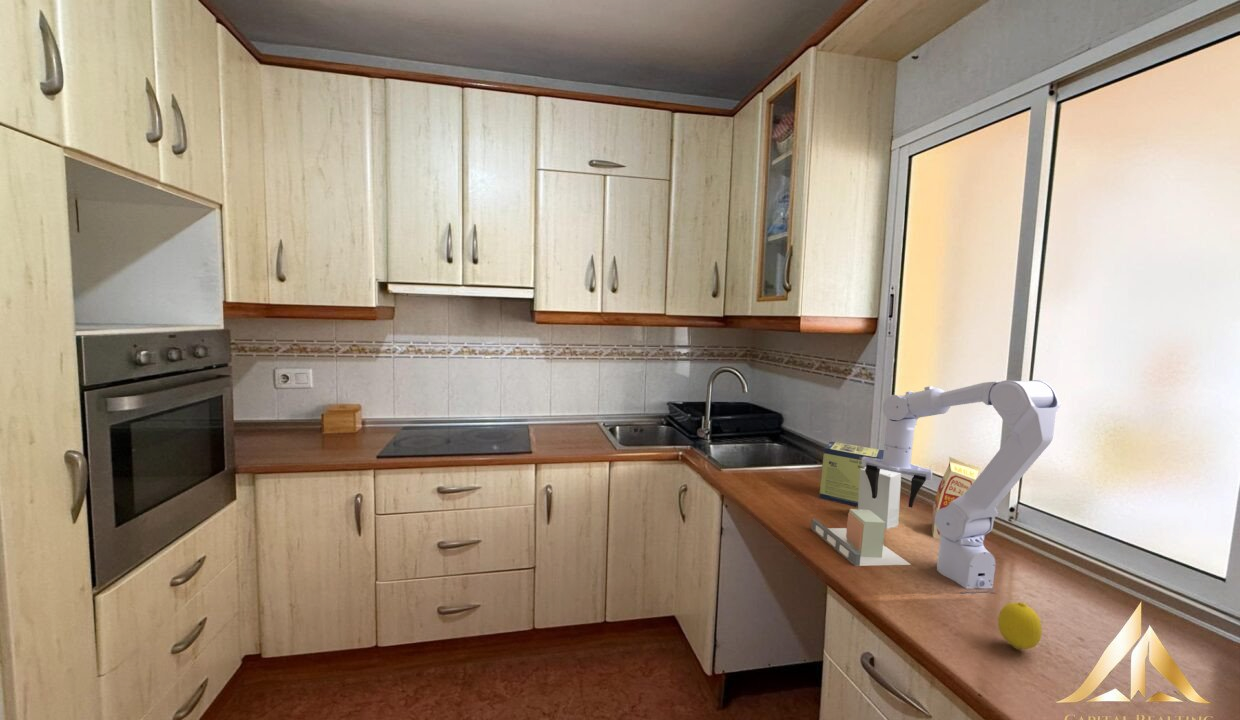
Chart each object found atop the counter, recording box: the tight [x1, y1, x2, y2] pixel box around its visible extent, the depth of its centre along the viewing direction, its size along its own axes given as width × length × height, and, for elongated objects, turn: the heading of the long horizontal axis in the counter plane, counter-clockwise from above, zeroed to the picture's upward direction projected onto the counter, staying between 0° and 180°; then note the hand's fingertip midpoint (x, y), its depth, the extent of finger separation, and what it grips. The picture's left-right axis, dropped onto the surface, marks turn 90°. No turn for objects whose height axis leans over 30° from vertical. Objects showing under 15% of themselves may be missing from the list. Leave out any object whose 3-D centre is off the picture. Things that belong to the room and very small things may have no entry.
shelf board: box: [810, 518, 912, 567], centre depth 114 cm, size 18×13×4 cm
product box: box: [846, 508, 886, 558], centre depth 111 cm, size 5×7×8 cm
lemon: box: [997, 601, 1043, 650], centre depth 81 cm, size 6×6×8 cm
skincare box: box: [857, 467, 902, 530], centre depth 128 cm, size 8×6×15 cm
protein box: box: [818, 441, 884, 508], centre depth 146 cm, size 10×16×16 cm
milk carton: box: [931, 456, 984, 540], centre depth 124 cm, size 9×9×20 cm
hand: (892, 501), depth 117 cm, fingers open, 7 cm apart
